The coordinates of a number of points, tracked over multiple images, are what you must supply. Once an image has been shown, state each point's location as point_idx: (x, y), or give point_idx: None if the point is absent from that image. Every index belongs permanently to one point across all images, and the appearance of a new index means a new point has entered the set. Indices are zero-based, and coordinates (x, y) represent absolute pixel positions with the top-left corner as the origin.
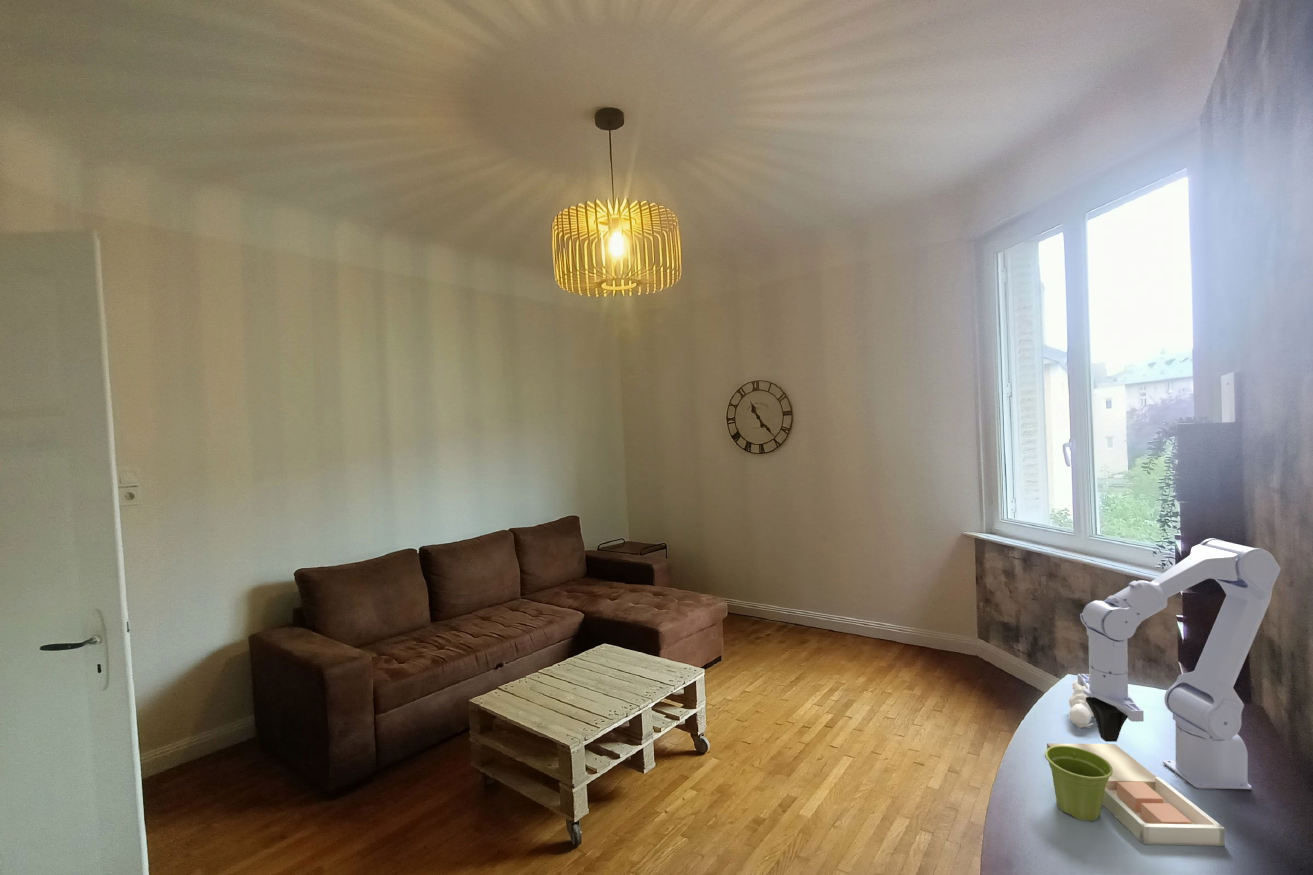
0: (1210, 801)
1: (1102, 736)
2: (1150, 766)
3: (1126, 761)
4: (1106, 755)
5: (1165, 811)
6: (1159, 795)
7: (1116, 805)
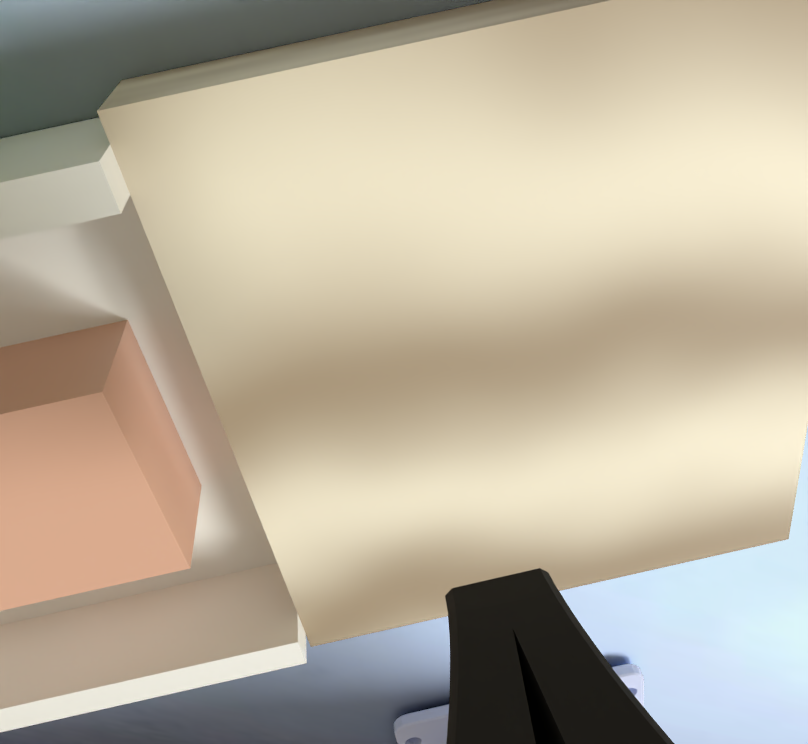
0: (286, 726)
1: (500, 607)
2: (600, 603)
3: (548, 536)
4: (629, 441)
5: None
6: (13, 604)
7: None
